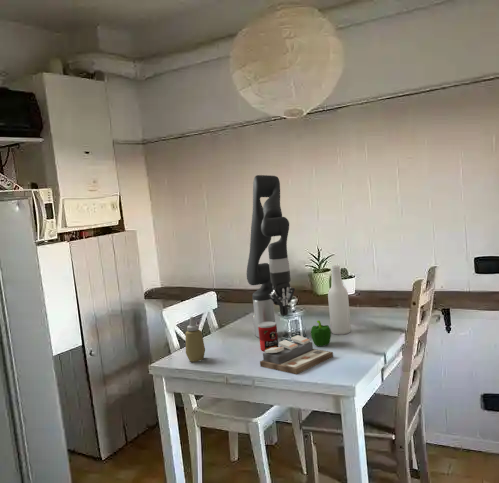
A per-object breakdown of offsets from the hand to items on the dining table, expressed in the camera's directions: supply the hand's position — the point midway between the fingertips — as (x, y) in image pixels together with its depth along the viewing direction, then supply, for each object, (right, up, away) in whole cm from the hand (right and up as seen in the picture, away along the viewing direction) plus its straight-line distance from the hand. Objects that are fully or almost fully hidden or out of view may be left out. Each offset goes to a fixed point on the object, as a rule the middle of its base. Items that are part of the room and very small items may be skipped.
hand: (284, 315), depth 216 cm
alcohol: (+28, -13, +37) cm, 48 cm away
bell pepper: (+17, -15, +21) cm, 31 cm away
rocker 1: (-4, -14, 0) cm, 15 cm away
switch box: (+5, -18, +2) cm, 19 cm away
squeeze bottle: (-35, -21, +18) cm, 45 cm away
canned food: (-5, -18, +22) cm, 29 cm away
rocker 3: (+7, -12, +10) cm, 17 cm away
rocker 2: (+2, -13, +5) cm, 14 cm away
